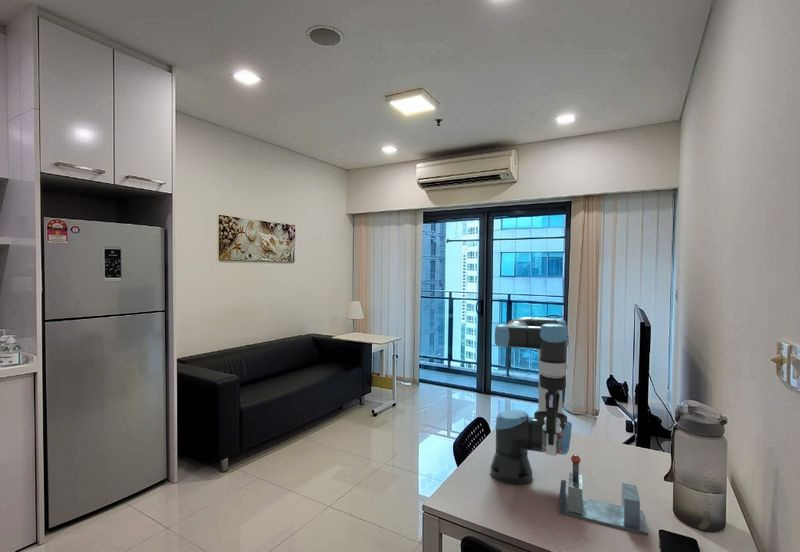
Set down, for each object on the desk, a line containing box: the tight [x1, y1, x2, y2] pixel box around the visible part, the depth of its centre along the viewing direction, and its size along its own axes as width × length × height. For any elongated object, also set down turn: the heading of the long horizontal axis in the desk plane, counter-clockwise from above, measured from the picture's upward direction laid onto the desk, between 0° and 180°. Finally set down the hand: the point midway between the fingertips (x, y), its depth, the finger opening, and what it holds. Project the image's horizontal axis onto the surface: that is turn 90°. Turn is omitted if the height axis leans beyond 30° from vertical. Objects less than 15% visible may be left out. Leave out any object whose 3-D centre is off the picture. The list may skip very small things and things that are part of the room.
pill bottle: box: [542, 417, 562, 456], centre depth 123 cm, size 6×6×10 cm
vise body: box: [558, 479, 649, 536], centre depth 127 cm, size 24×12×9 cm, turn 65°
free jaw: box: [567, 454, 583, 514], centre depth 130 cm, size 4×10×16 cm, turn 155°
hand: (551, 450), depth 123 cm, fingers closed on pill bottle, 6 cm apart
